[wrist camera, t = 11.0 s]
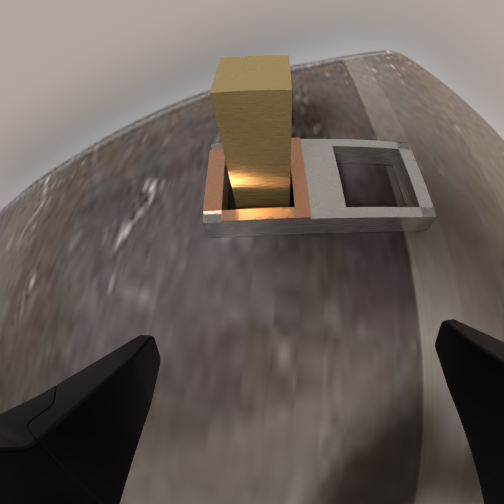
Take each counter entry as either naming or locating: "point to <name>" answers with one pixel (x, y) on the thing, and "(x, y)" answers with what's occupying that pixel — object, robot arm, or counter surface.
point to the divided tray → (321, 193)
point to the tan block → (255, 127)
